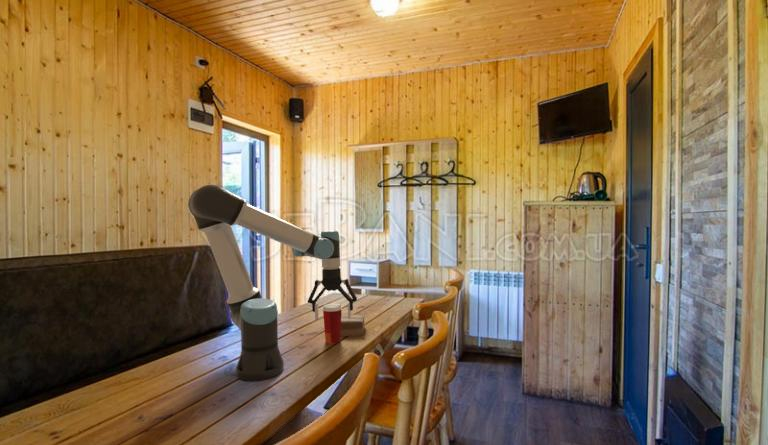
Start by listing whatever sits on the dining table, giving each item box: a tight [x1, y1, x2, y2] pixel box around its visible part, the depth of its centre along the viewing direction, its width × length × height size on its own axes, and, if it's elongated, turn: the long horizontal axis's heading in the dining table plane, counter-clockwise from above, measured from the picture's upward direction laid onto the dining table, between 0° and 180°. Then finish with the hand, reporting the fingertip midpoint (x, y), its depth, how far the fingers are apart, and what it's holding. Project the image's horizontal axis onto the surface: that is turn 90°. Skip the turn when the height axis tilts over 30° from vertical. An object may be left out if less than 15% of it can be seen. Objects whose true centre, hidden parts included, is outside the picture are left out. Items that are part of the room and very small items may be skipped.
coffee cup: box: [321, 303, 343, 345], centre depth 151 cm, size 8×8×15 cm
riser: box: [340, 314, 365, 337], centre depth 164 cm, size 12×12×6 cm
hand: (333, 318), depth 152 cm, fingers open, 13 cm apart
